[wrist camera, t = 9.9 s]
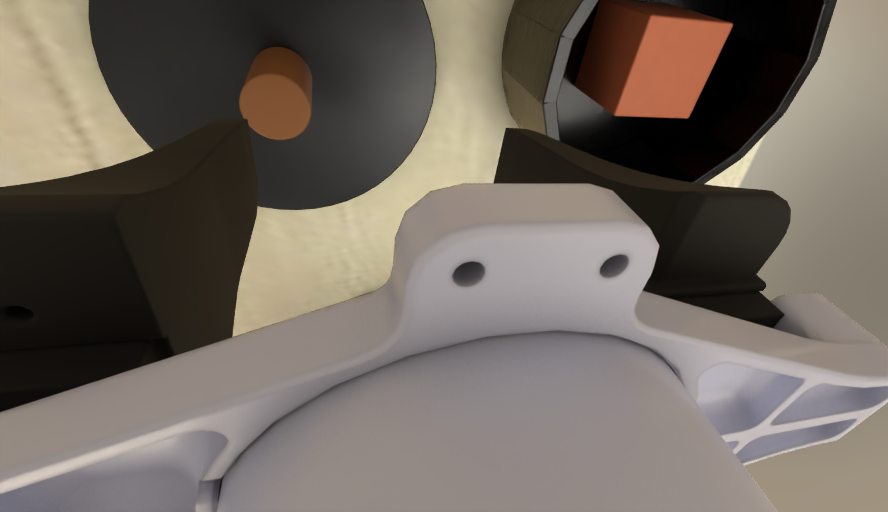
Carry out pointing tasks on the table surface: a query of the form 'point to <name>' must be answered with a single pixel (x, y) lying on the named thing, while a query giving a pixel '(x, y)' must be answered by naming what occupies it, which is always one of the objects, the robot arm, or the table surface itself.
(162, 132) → the lid
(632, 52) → the block
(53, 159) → the table surface
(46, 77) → the table surface
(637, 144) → the pot
